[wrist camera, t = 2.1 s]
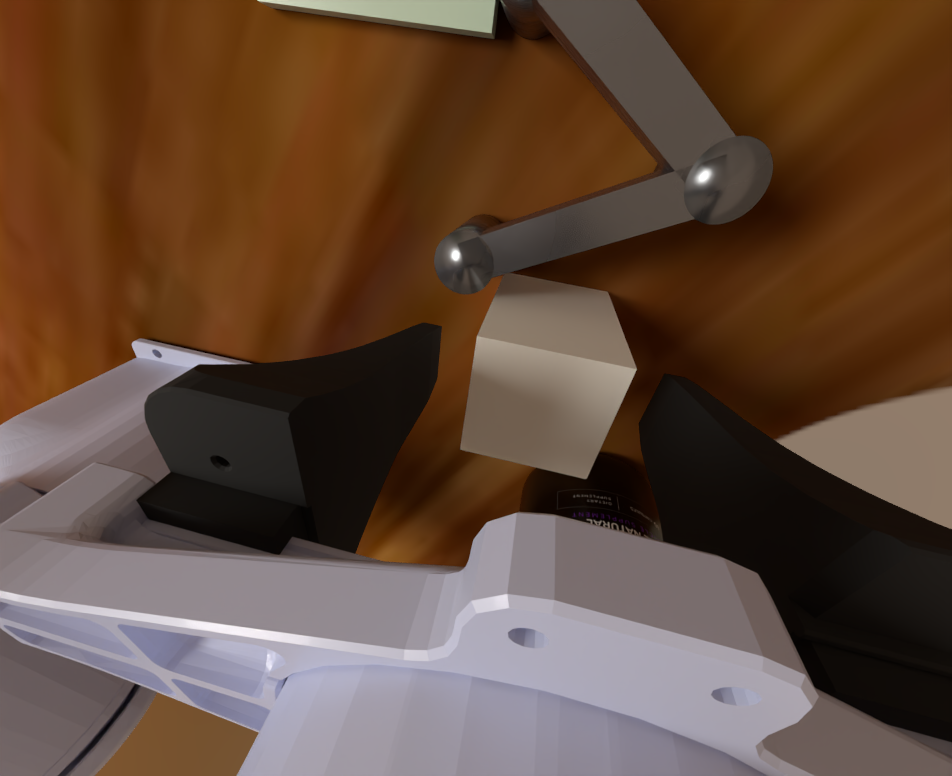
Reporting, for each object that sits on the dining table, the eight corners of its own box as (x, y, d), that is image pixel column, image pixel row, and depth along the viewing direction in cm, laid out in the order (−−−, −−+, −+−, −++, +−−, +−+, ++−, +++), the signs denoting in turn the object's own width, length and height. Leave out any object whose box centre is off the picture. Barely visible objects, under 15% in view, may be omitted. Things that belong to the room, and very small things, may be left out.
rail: (458, 260, 14) (432, 288, 11) (491, -63, 9) (462, -161, 6) (659, 299, 13) (688, 339, 10) (803, -27, 9) (926, -116, 6)
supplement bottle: (643, 437, 17) (767, 835, 7) (657, 529, 20) (754, 893, 10) (505, 455, 19) (451, 775, 9) (537, 535, 22) (521, 837, 12)
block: (489, 359, 16) (460, 449, 11) (505, 271, 14) (477, 336, 9) (577, 378, 16) (586, 479, 11) (607, 291, 14) (636, 369, 9)
